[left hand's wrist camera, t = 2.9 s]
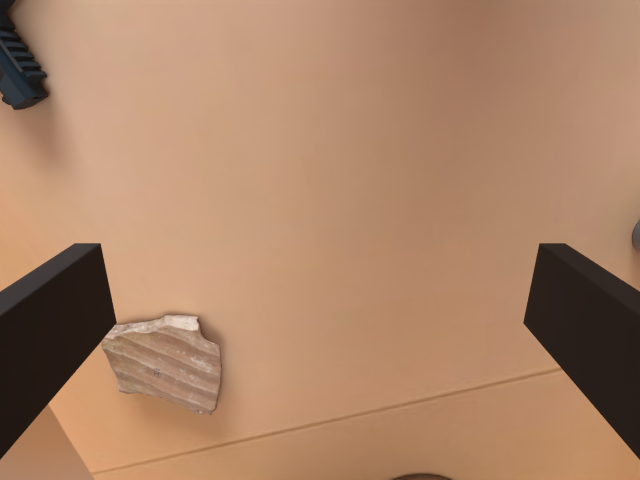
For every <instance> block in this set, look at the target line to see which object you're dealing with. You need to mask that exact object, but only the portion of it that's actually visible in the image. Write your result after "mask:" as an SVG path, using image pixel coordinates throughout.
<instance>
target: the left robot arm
mask: <svg viewBox="0 0 640 480" xmlns="http://www.w3.org/2000/svg"><path fill="white" fill-rule="evenodd" d="M116 323H117V322H116V318H115V313H114V308H113V303H112V298H111V293H110V288H109V283H108V278H107V273H106V268H105V263H104V258H103V253H102V249H101V244H100V243H75V244H73V245H72V246H70V247H69V248H67V249H66V250H64V251H62V252H61V253H59V254H58V255H56V256H55V257H53V258H52V259H50V260H49V261H47V262H45V263H44V264H42V265H41V266H39V267H38V268H36V269H35V270H33V271H32V272H30V273H29V274H27V275H25V276H24V277H22V278H21V279H19V280H18V281H16V282H15V283H13V284H12V285H10V286H8V287H7V288H5V289H4V290H2V291H1V292H0V459H1V458H2V457H3V456H4V455H5V453H6V452H7V451H8V450H9V449H10V448H11V446H12V445H13V444H14V443H15V442H16V441H17V439H18V438H19V437H20V436H21V435H22V433H23V432H24V431H25V430H26V429H27V428H28V426H29V425H30V424H31V423H32V422H33V421H34V419H35V418H36V417H37V416H38V415H39V414H40V412H41V411H42V410H43V409H44V408H45V406H46V405H47V404H48V403H49V402H50V401H51V400H52V398H53V397H54V396H55V395H56V394H57V392H58V391H59V390H60V389H61V388H62V387H63V385H64V384H65V383H66V382H67V381H68V380H69V378H70V377H71V376H72V375H73V374H74V373H75V371H76V370H77V369H78V368H79V367H80V366H81V364H82V363H83V362H84V361H85V360H86V358H87V357H88V356H89V355H90V354H91V353H92V351H93V350H94V349H95V348H96V347H97V346H98V344H99V343H100V342H101V341H102V340H103V339H104V337H105V336H106V335H107V334H108V333H109V331H110V330H111V329H112V328H113V327H114V326H115V324H116ZM523 323H524V324H525V326H526V327H527V328H528V329H529V330H530V331H531V333H532V334H533V335H534V336H535V337H536V339H537V340H538V341H539V342H540V343H541V344H542V346H543V347H544V348H545V349H546V350H547V351H548V353H549V354H550V355H551V356H552V357H553V358H554V360H555V361H556V362H557V363H558V364H559V366H560V367H561V368H562V369H563V370H564V371H565V373H566V374H567V375H568V376H569V377H570V378H571V380H572V381H573V382H574V383H575V384H576V385H577V387H578V388H579V389H580V390H581V391H582V392H583V394H584V395H585V396H586V397H587V398H588V400H589V401H590V402H591V403H592V404H593V405H594V407H595V408H596V409H597V410H598V411H599V412H600V414H601V415H602V416H603V417H604V418H605V419H606V421H607V422H608V423H609V424H610V425H611V426H612V428H613V429H614V430H615V431H616V432H617V434H618V435H619V436H620V437H621V438H622V439H623V441H624V442H625V443H626V444H627V445H628V446H629V448H630V449H631V450H632V451H633V452H634V453H635V455H636V456H637V457H638V458H639V459H640V292H639V291H638V290H636V289H635V288H633V287H632V286H630V285H628V284H627V283H625V282H624V281H622V280H621V279H619V278H618V277H616V276H615V275H613V274H611V273H610V272H608V271H607V270H605V269H604V268H602V267H601V266H599V265H598V264H596V263H595V262H593V261H591V260H590V259H588V258H587V257H585V256H584V255H582V254H581V253H579V252H578V251H576V250H574V249H573V248H571V247H570V246H568V245H567V244H565V243H540V244H539V249H538V253H537V258H536V263H535V268H534V273H533V278H532V283H531V288H530V293H529V298H528V303H527V308H526V313H525V318H524V322H523ZM395 480H449V479H447V478H443V477H440V476H434V475H411V476H406V477H402V478H398V479H395Z"/></svg>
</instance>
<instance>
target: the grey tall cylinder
mask: <svg viewBox="0 0 640 480" xmlns="http://www.w3.org/2000/svg"><path fill="white" fill-rule="evenodd" d="M632 240H633V245H634V247H635V249H636V250H637V251H638V252H639V253H640V221H639V222H638V223H637V225H636V227H635V229H634V232H633V236H632Z"/></svg>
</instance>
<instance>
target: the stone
mask: <svg viewBox="0 0 640 480" xmlns="http://www.w3.org/2000/svg"><path fill="white" fill-rule="evenodd" d="M101 344H102V349H103V351H104V352H105V354H106V356H107V358H108V361H109V363H110V366H111V368H112V370H113V372H114V373H115V375H116V376H117V378H118V386H119V391H120V392H122V393H140V394H146V395H150V396H157V397H160V398H163V399H166V400H168V401H171V402H174V403H176V404H179V405H181V406H183V407H185V408H187V409H188V410H190V411H192V412H195V413H197V414H200V415H203V414H204V413H207V414H211V415H212V412H213V411H215V410H216V408H217V400H218V394H219V389H220V376H221V368H222V365H221V355H220V346H219V345H217V344H216V343H213V342H209V341H207V340H206V339H205V338H204V337H203V335H202V334H201V329H200V325H199V319H198V317H196V316H183V315H175V316H170V315H165V316H163V317H162V318H161V319H156V320H153V321H148V322H139V323H129V324H125V325H115V326H114V328H112V329H111V330H110V331H109V333H108V334H107V335H106V336H105V337H104V339H103V340H102V341H101Z"/></svg>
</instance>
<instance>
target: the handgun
mask: <svg viewBox="0 0 640 480" xmlns="http://www.w3.org/2000/svg"><path fill="white" fill-rule="evenodd" d="M14 2H15V0H0V91H1V93H2V94H3V98H2V101H3V102H5V103H6V104H8V105H11V106H12V107H13V109H14V110H19V109H25V108H28V107H31V106H33V105H35V104H37V103H38V102H40V101H41V100H43V99H45V98H46V97H48V96H47V94H46V93H45V91H44V90H43V89H42V87H41V86H40V85H39V83H38V82H39V81H40V80H41V79H43V78H46V77H47V75H46V74H45V72H42V71H41V70H40V69H39V68H41V67H40V65H39V64H38V62H34V60H33V59H34V57H33V55H32V54H31V53H28V52H27V50H26V49H27V47H26V46H25V44H24V43H21V42H20V41H19V40H20V37H19V36H18V34H16V33H14V32H13V31H12V30H14V29H15V27H14V26H13V24H12V23H11V21H10V20H9V18H8V17H7V15H6V14H5V13H6V11H7V10H8V9H9V8H10V7H11V5H12V4H13V3H14Z"/></svg>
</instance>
